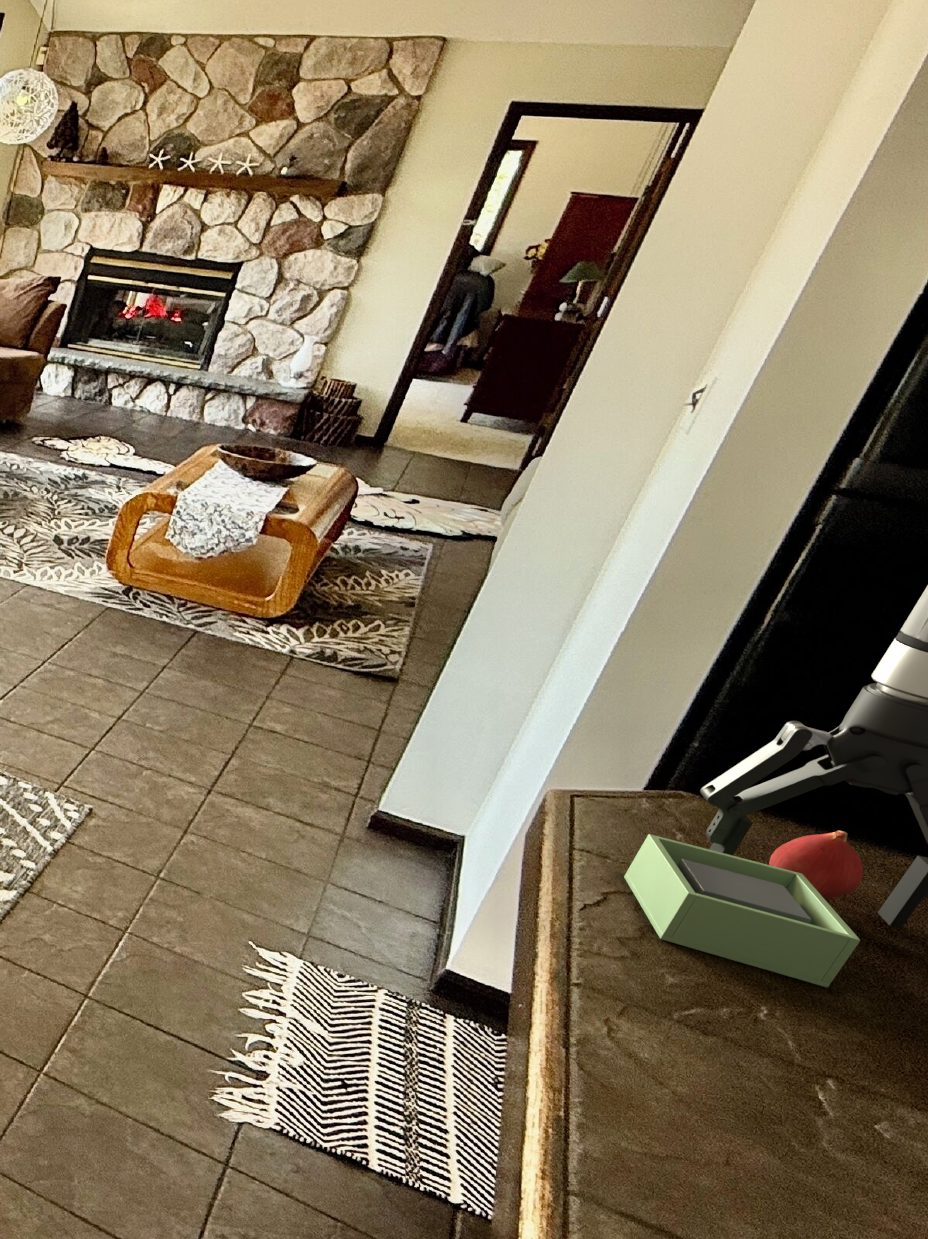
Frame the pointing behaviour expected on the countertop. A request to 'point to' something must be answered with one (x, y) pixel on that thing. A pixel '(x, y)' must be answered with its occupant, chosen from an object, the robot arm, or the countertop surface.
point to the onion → (822, 862)
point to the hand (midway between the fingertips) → (796, 896)
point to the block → (742, 890)
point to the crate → (739, 914)
